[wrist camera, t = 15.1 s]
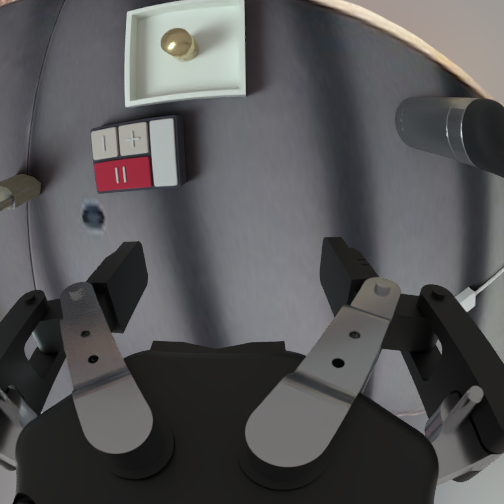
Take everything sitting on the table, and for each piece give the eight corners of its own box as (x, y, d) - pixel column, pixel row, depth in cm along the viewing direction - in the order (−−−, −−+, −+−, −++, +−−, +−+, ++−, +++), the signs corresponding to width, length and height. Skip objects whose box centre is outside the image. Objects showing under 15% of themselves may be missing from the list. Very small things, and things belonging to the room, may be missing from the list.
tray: (244, 3, 30) (244, -5, 27) (245, 96, 38) (245, 94, 35) (135, 18, 30) (127, 11, 27) (133, 107, 37) (125, 107, 34)
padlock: (15, 171, 40) (-35, 193, 26) (41, 179, 41) (-11, 204, 28) (14, 189, 42) (-34, 215, 28) (40, 198, 43) (-10, 227, 29)
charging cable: (514, 259, 53) (521, 264, 50) (437, 321, 59) (444, 329, 56) (515, 245, 51) (522, 250, 48) (436, 308, 57) (443, 316, 54)
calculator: (87, 129, 35) (175, 114, 35) (100, 127, 39) (183, 114, 39) (95, 195, 40) (180, 189, 40) (107, 188, 44) (187, 182, 44)
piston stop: (200, 38, 32) (191, 27, 27) (197, 61, 34) (188, 53, 29) (174, 39, 32) (162, 29, 27) (171, 62, 34) (158, 54, 29)
